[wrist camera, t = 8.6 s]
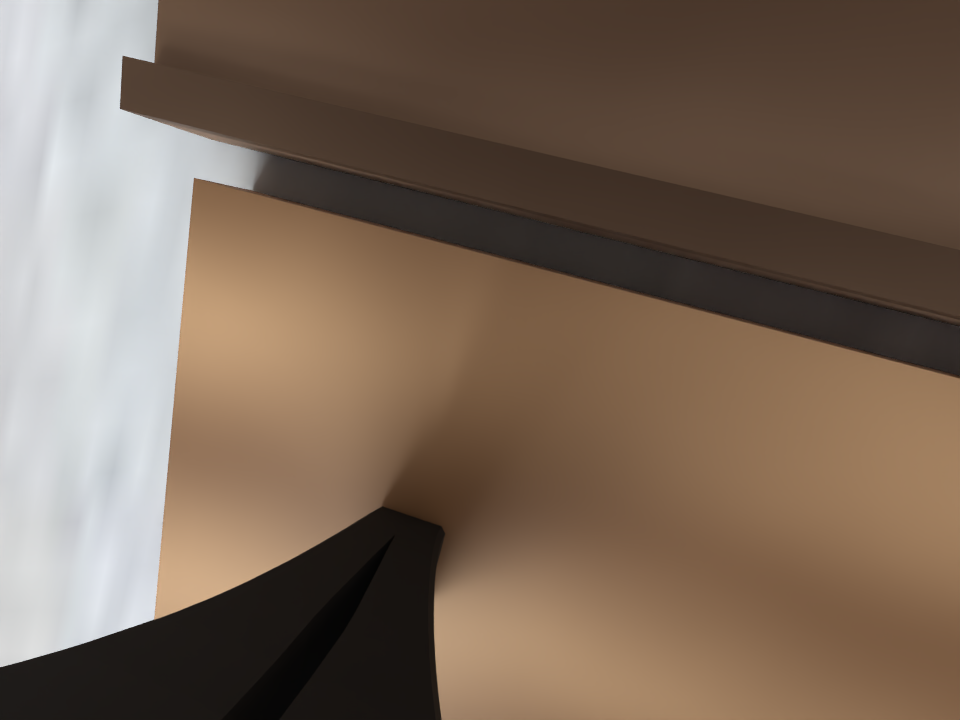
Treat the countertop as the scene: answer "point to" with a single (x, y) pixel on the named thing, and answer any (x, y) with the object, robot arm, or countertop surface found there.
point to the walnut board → (612, 120)
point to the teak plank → (567, 474)
